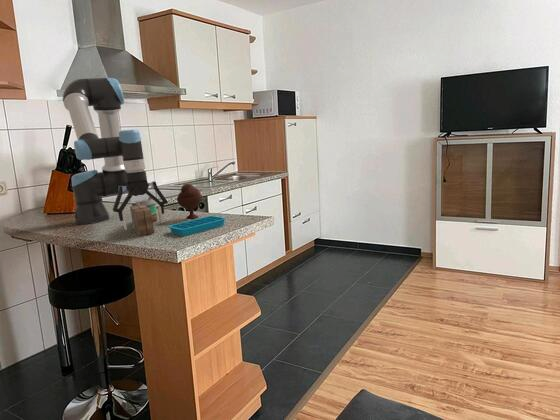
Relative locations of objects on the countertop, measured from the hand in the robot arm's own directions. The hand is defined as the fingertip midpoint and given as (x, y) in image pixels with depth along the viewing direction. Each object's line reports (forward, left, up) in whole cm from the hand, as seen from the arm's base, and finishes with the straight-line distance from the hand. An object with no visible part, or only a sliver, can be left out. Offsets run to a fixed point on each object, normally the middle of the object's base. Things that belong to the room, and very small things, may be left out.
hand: (143, 225), depth 165 cm
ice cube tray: (+1, +22, -3) cm, 22 cm away
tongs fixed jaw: (-3, -3, -3) cm, 5 cm away
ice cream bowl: (-21, +14, -3) cm, 25 cm away
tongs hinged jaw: (-3, 0, -2) cm, 4 cm away
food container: (-21, -4, -3) cm, 22 cm away
